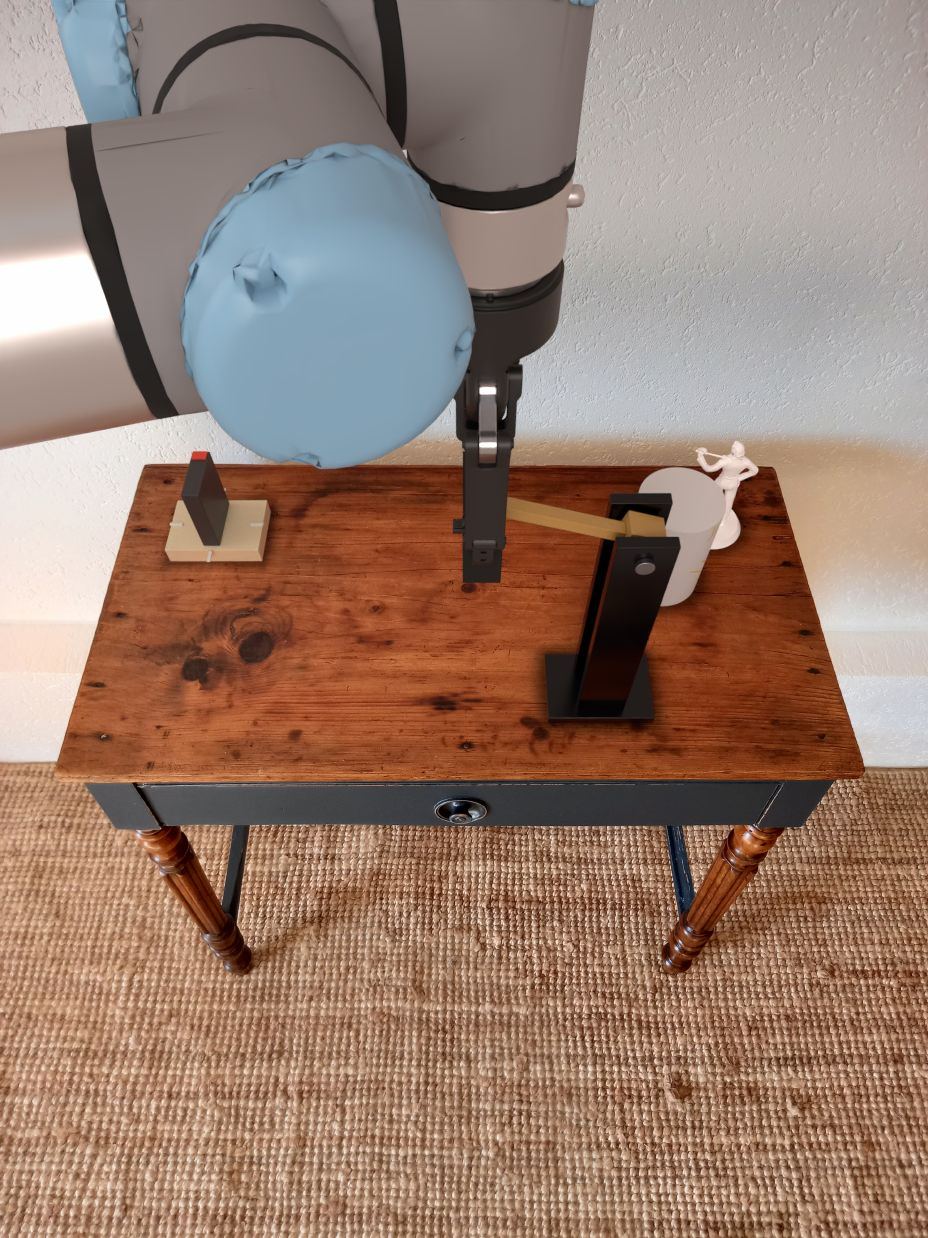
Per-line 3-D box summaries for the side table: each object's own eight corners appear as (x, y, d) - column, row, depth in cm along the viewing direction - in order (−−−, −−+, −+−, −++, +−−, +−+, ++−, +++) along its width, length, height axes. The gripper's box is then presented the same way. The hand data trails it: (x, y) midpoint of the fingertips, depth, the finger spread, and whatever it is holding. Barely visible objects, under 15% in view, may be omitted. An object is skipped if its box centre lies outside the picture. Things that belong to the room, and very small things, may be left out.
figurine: (736, 501, 91) (769, 421, 81) (744, 550, 87) (779, 474, 77) (672, 498, 91) (697, 418, 81) (677, 547, 87) (704, 470, 77)
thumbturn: (220, 546, 85) (197, 494, 78) (203, 546, 85) (179, 493, 78) (229, 503, 89) (209, 449, 82) (213, 503, 89) (191, 449, 82)
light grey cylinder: (701, 606, 83) (732, 533, 73) (622, 605, 83) (643, 532, 73) (690, 544, 87) (719, 467, 77) (616, 543, 88) (634, 466, 78)
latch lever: (466, 539, 54) (478, 517, 52) (467, 483, 57) (477, 461, 55) (653, 576, 58) (670, 557, 56) (645, 522, 60) (661, 502, 58)
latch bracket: (547, 723, 76) (577, 559, 54) (543, 659, 80) (570, 482, 58) (652, 723, 76) (724, 559, 54) (644, 659, 80) (708, 482, 58)
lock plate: (166, 573, 86) (159, 561, 84) (184, 501, 92) (179, 488, 90) (261, 573, 86) (256, 561, 84) (273, 500, 91) (269, 488, 90)
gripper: (579, 378, 34) (538, 653, 54) (554, 156, 44) (527, 457, 64) (404, 378, 34) (426, 653, 54) (418, 156, 44) (433, 457, 64)
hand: (481, 546), depth 59 cm, fingers closed on latch lever, 5 cm apart
